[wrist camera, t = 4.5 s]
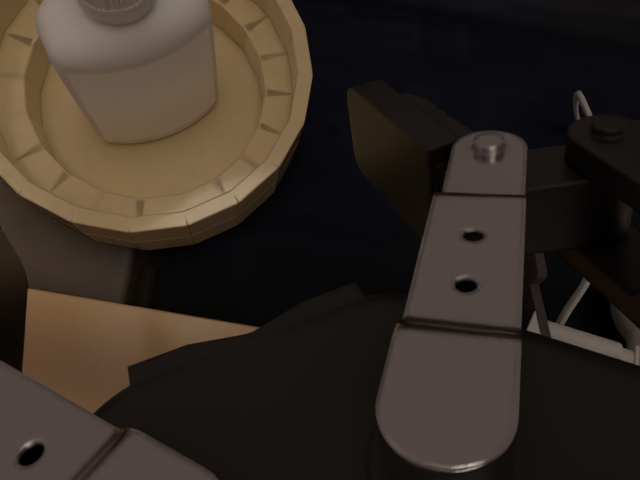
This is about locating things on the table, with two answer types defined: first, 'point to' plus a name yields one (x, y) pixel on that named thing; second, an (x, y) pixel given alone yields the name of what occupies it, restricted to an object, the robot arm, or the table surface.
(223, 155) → the bowl
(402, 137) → the robot arm
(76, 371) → the board
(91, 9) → the eye dropper bottle
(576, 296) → the clip-on lamp
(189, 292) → the table surface
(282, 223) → the table surface
